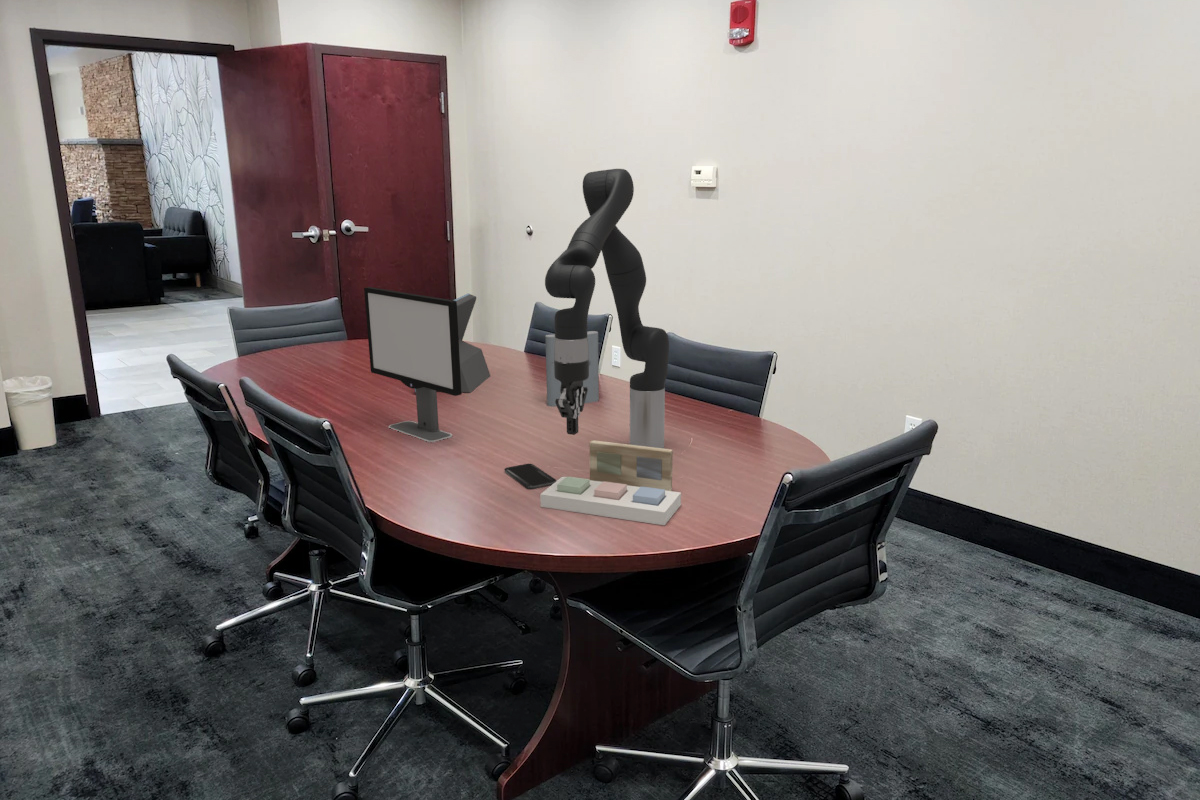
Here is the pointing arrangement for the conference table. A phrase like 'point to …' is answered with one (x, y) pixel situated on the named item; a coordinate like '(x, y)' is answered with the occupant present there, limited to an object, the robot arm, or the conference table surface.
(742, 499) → the conference table surface
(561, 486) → the key sage
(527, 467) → the phone
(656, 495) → the key slate
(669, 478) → the card
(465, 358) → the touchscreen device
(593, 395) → the flask
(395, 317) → the computer monitor
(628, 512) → the keypad
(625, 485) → the key rose
